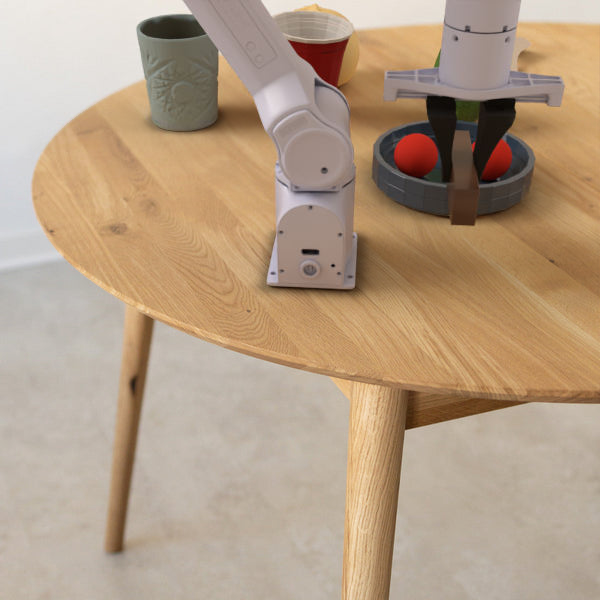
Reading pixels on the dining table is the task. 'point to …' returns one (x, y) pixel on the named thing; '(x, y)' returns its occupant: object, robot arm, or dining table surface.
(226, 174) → the dining table surface
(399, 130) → the bowl
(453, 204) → the wooden block
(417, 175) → the tomato
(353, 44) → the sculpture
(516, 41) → the stirrer
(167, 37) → the green ceramic cup
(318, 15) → the plastic cup
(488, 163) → the tomato
